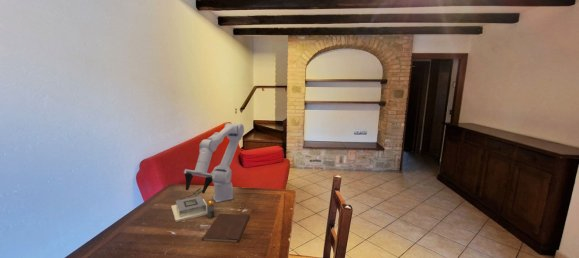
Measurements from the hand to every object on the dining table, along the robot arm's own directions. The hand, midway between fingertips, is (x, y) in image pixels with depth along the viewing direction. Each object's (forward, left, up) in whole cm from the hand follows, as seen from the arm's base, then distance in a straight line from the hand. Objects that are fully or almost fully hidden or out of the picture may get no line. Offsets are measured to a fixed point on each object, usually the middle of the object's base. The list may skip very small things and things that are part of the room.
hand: (194, 191), depth 118 cm
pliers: (-2, -26, -13) cm, 29 cm away
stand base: (+1, -8, -13) cm, 15 cm away
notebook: (-10, +16, -13) cm, 23 cm away
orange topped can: (-6, +3, -13) cm, 14 cm away
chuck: (+1, -8, -13) cm, 15 cm away
